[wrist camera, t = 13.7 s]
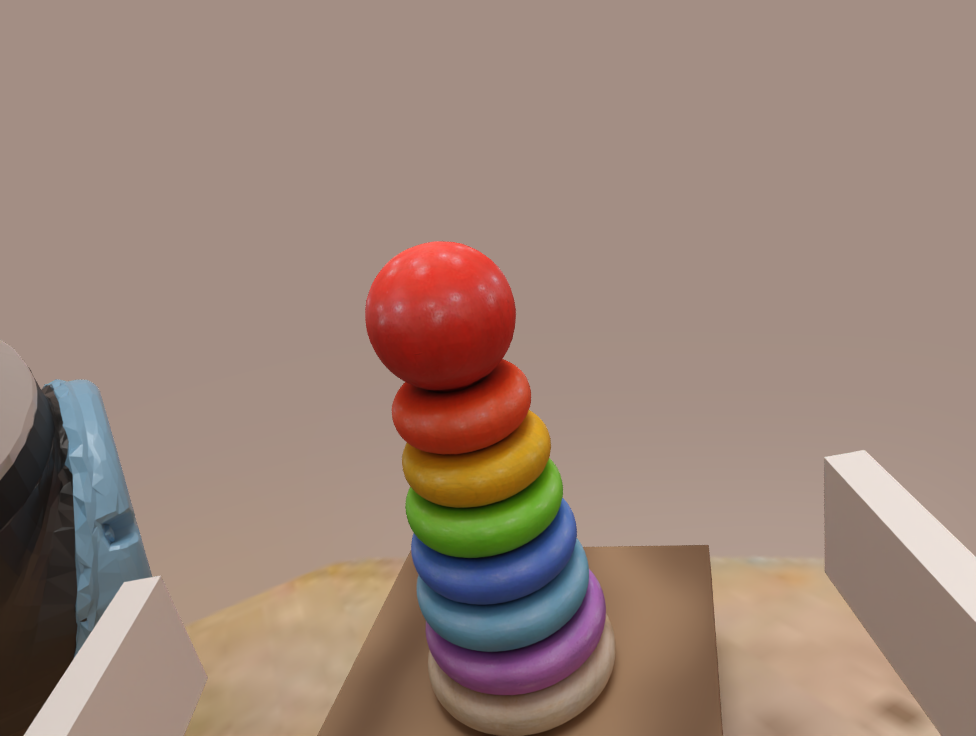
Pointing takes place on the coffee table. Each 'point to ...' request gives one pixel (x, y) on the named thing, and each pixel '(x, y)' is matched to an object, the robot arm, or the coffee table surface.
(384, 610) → the footstool
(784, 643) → the coffee table surface
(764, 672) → the coffee table surface
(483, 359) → the stacking toy
